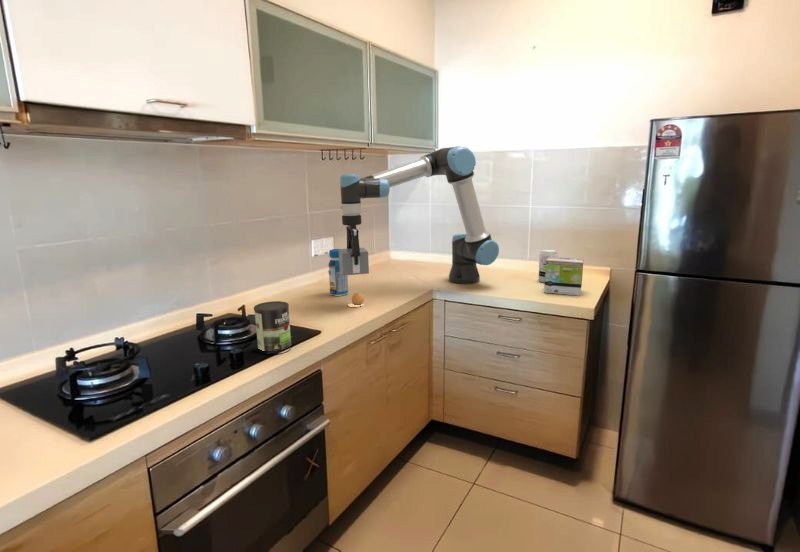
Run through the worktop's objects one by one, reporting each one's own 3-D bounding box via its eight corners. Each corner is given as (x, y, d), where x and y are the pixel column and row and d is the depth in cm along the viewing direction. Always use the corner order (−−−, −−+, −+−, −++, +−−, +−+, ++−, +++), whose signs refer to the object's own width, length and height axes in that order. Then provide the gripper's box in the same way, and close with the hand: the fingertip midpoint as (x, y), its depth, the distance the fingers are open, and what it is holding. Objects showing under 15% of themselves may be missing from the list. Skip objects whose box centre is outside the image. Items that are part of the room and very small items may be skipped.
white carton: (554, 279, 224) (555, 249, 221) (558, 283, 216) (559, 252, 213) (537, 279, 225) (538, 249, 221) (540, 283, 217) (541, 252, 213)
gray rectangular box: (339, 270, 189) (338, 249, 187) (364, 268, 192) (363, 247, 190) (343, 275, 179) (342, 253, 178) (368, 273, 182) (368, 251, 180)
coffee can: (298, 345, 146) (295, 302, 143) (277, 357, 137) (273, 312, 134) (273, 341, 151) (269, 299, 148) (250, 352, 142) (246, 308, 138)
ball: (364, 293, 191) (360, 304, 192) (352, 290, 189) (348, 301, 190) (366, 296, 186) (362, 308, 187) (355, 293, 185) (351, 304, 185)
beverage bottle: (345, 296, 202) (343, 251, 197) (327, 296, 203) (324, 251, 199) (351, 291, 210) (349, 248, 205) (333, 291, 211) (330, 248, 207)
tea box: (543, 293, 200) (545, 260, 197) (545, 288, 209) (547, 255, 206) (581, 296, 194) (583, 261, 191) (581, 290, 204) (583, 257, 200)
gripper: (338, 212, 190) (340, 265, 195) (346, 217, 169) (349, 276, 174) (356, 211, 192) (358, 264, 197) (366, 216, 171) (368, 275, 176)
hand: (354, 270), depth 185 cm, fingers closed on gray rectangular box, 10 cm apart
